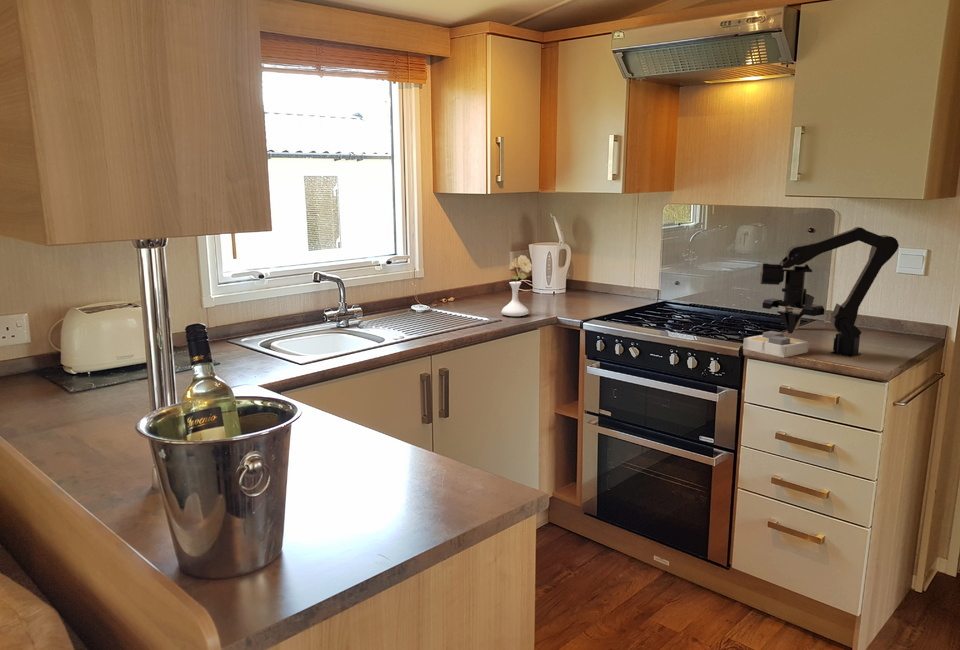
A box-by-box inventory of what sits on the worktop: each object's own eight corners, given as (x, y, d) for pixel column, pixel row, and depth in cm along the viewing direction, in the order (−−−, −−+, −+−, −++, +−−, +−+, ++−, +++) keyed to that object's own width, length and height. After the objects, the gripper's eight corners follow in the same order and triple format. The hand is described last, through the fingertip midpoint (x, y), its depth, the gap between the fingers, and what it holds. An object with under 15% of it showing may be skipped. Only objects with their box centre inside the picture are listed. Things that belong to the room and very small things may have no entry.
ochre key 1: (771, 348, 240) (772, 339, 239) (762, 350, 237) (763, 341, 236) (759, 346, 243) (760, 337, 243) (750, 347, 241) (751, 338, 240)
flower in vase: (510, 319, 295) (510, 257, 290) (496, 314, 305) (496, 254, 300) (537, 316, 301) (538, 255, 296) (522, 312, 311) (523, 253, 306)
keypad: (808, 352, 237) (808, 341, 236) (783, 357, 230) (784, 346, 229) (767, 343, 249) (768, 333, 248) (743, 348, 242) (743, 338, 241)
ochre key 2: (800, 350, 238) (801, 340, 237) (791, 351, 235) (792, 342, 235) (787, 347, 241) (788, 338, 241) (779, 349, 239) (779, 340, 238)
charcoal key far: (783, 341, 243) (783, 333, 242) (774, 343, 240) (775, 334, 239) (770, 339, 246) (771, 330, 246) (762, 341, 244) (762, 332, 243)
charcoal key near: (789, 347, 234) (790, 338, 233) (780, 349, 232) (781, 340, 231) (776, 345, 238) (777, 336, 237) (768, 346, 235) (768, 337, 235)
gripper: (836, 286, 231) (831, 335, 234) (783, 280, 246) (779, 326, 249) (816, 289, 225) (811, 339, 228) (762, 282, 240) (759, 329, 243)
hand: (790, 333), depth 237 cm, fingers closed
